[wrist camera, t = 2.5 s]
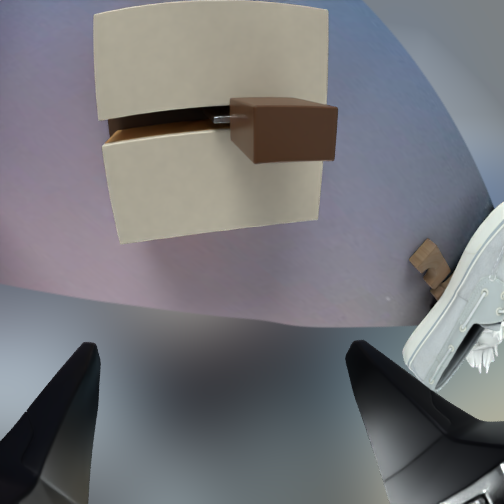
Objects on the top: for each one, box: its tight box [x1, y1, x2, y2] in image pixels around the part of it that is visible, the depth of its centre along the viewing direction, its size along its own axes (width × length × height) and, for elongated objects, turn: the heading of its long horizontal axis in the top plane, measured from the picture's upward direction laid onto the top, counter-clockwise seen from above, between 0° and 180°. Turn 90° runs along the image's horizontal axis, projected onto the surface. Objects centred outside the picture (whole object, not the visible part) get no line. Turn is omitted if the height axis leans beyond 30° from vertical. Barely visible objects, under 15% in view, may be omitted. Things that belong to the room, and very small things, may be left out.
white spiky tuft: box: [466, 322, 504, 373], centre depth 33 cm, size 11×12×8 cm
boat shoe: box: [402, 202, 504, 392], centre depth 28 cm, size 25×9×8 cm, turn 154°
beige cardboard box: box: [93, 0, 328, 244], centre depth 15 cm, size 12×12×5 cm
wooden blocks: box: [409, 238, 454, 301], centre depth 35 cm, size 30×3×8 cm
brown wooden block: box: [202, 97, 338, 164], centre depth 14 cm, size 4×2×9 cm, turn 90°
